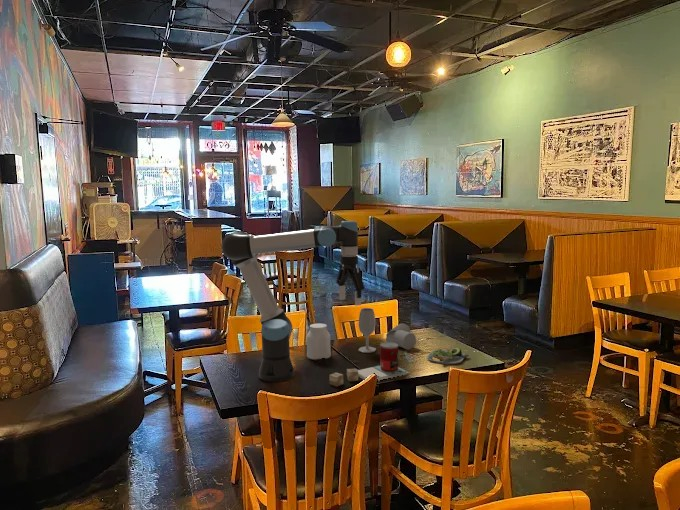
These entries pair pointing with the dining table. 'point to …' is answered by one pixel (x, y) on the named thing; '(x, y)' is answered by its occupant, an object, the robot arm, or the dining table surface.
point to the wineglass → (367, 327)
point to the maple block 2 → (352, 374)
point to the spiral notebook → (380, 373)
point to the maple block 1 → (336, 379)
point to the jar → (318, 342)
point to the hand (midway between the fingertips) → (350, 302)
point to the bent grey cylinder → (401, 336)
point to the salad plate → (447, 356)
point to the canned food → (389, 356)
